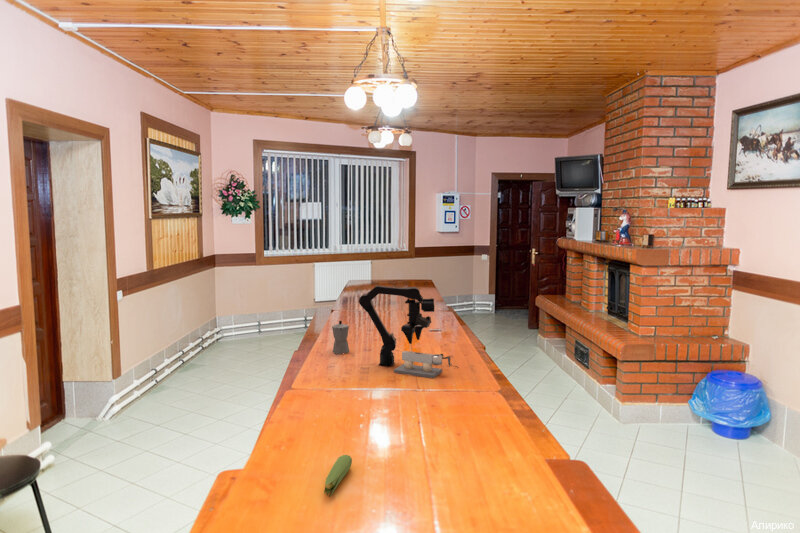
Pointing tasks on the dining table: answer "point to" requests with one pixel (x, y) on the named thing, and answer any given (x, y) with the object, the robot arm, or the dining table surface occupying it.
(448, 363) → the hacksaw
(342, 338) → the coffeepot
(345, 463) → the edible corn
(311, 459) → the dining table surface
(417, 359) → the spanner
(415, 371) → the tool rack
